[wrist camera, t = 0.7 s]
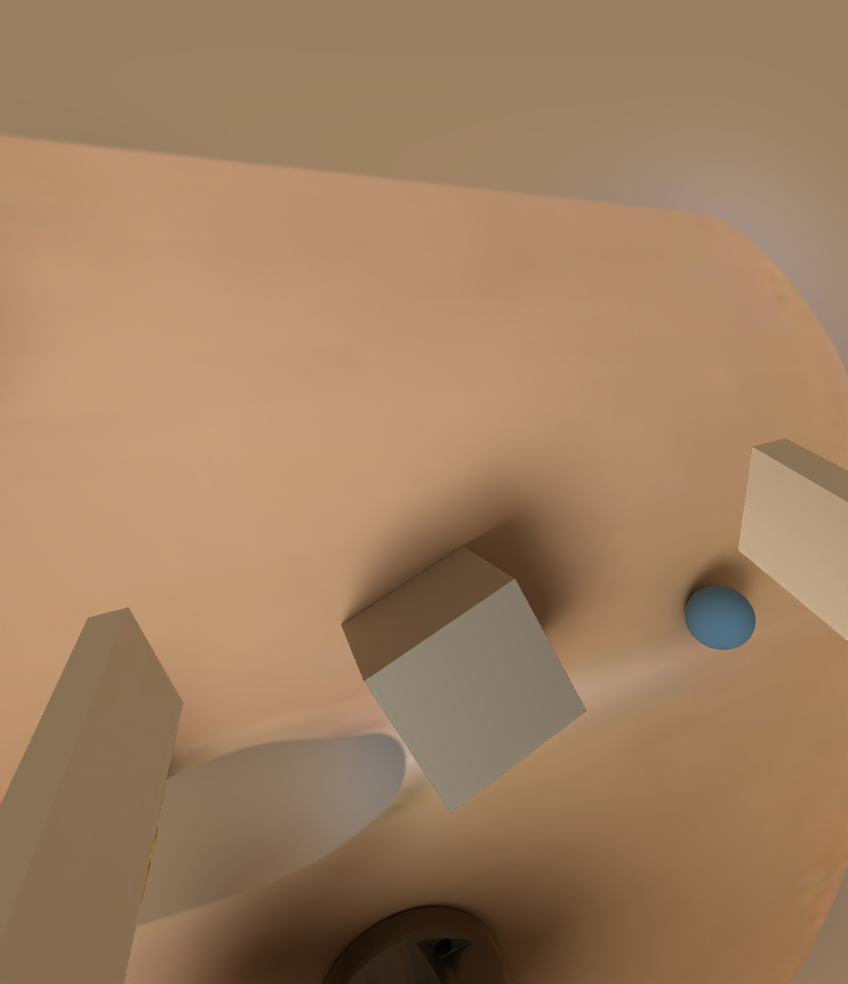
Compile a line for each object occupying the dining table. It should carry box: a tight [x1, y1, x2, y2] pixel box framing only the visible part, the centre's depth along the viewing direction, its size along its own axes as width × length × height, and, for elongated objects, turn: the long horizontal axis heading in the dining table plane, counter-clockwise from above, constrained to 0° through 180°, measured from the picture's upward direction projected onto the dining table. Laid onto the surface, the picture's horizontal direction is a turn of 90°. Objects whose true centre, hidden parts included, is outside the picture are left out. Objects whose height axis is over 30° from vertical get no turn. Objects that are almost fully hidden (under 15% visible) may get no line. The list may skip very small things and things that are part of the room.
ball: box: [685, 586, 755, 650], centre depth 45 cm, size 5×5×5 cm
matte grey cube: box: [341, 546, 586, 813], centre depth 37 cm, size 10×10×9 cm
